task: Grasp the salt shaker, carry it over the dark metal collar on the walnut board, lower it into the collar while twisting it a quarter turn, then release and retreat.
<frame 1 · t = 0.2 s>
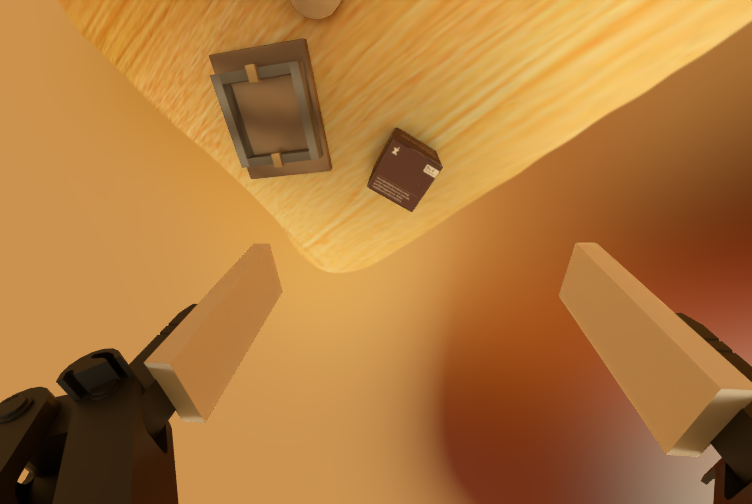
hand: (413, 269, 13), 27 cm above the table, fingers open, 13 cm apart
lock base: (277, 116, 37), on the table
box: (404, 160, 38), on the table
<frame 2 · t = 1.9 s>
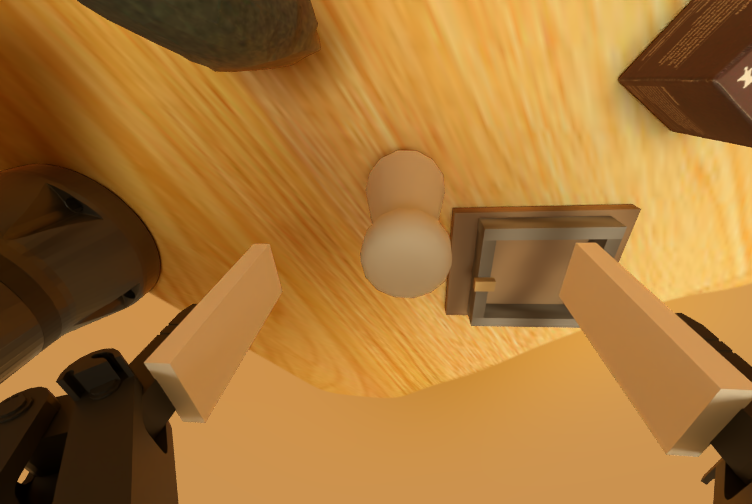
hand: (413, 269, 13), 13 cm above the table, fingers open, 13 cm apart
salt shaker: (404, 179, 24), on the table
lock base: (526, 262, 27), on the table
box: (685, 63, 19), on the table
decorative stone: (281, 19, 20), on the table
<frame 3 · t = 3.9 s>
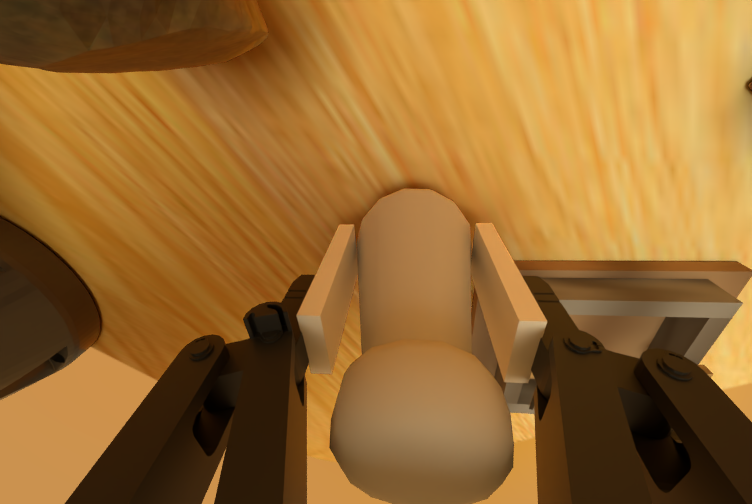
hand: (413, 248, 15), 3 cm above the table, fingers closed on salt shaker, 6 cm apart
salt shaker: (412, 222, 18), on the table, touching gripper
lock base: (575, 329, 20), on the table
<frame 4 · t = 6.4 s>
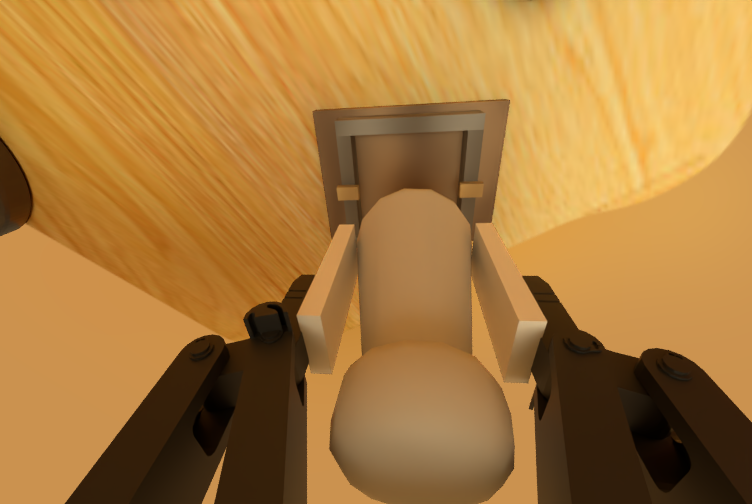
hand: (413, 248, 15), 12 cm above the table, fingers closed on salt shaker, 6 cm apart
salt shaker: (412, 222, 18), point 9 cm above the table, touching gripper
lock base: (408, 177, 25), on the table
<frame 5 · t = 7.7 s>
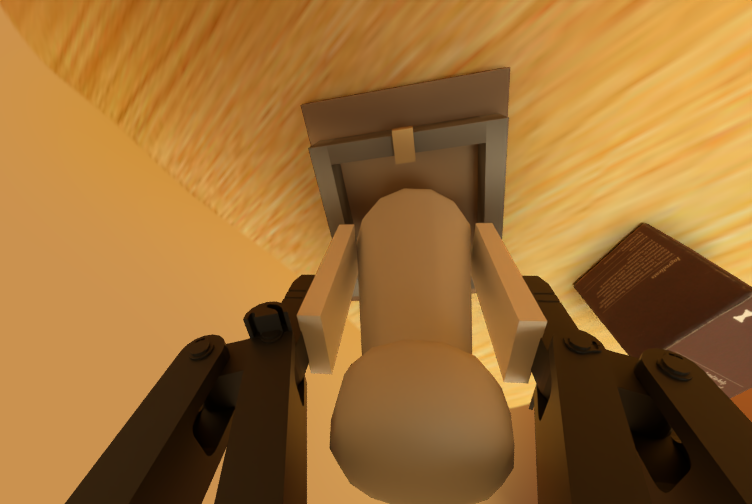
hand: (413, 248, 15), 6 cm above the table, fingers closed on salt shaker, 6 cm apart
salt shaker: (412, 222, 18), point 3 cm above the table, touching gripper
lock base: (412, 204, 20), on the table
box: (634, 271, 21), on the table
when the fingers open (5 cm above the table, at t = 8.9 s): salt shaker drops 1 cm, resting on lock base.
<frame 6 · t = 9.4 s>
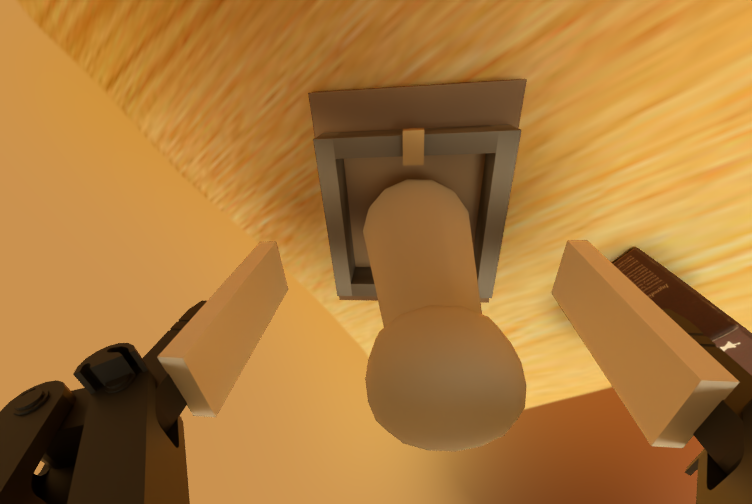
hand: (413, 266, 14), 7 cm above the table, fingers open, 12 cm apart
salt shaker: (412, 212, 19), point 1 cm above the table, touching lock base
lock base: (412, 207, 20), on the table
box: (620, 293, 22), on the table
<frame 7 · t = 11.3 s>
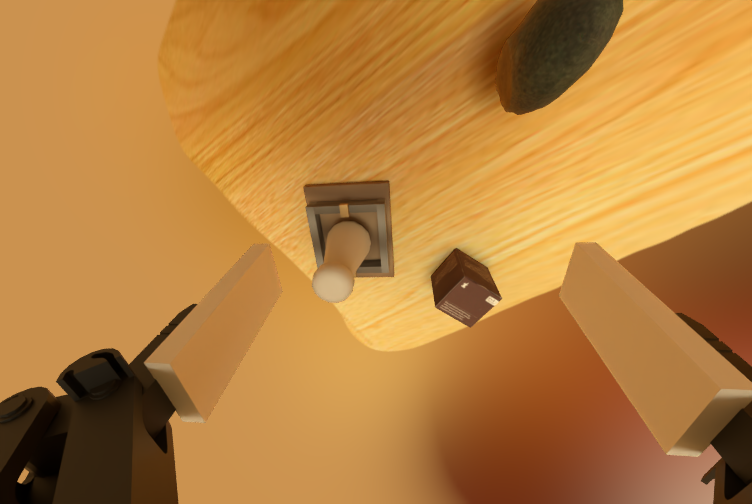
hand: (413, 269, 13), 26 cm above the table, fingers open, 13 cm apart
salt shaker: (351, 233, 41), point 1 cm above the table, touching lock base
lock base: (352, 231, 42), on the table
box: (458, 271, 44), on the table
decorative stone: (512, 59, 31), on the table
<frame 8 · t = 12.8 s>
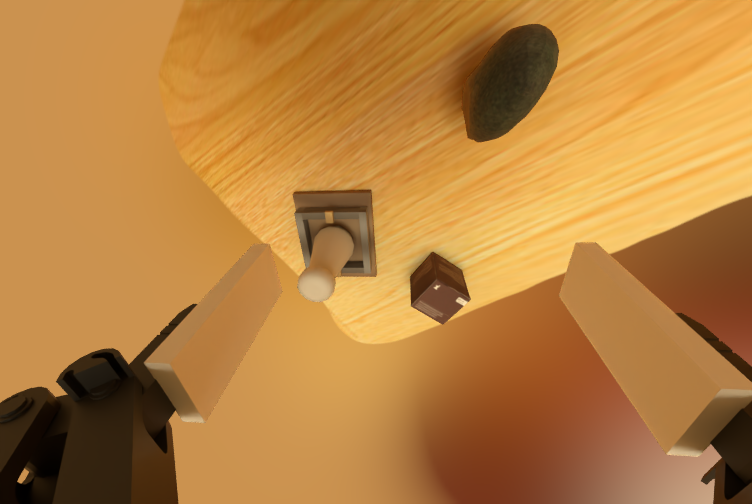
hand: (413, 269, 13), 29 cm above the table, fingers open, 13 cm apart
salt shaker: (337, 237, 45), point 1 cm above the table, touching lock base
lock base: (338, 235, 46), on the table
box: (435, 272, 48), on the table
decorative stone: (481, 85, 34), on the table
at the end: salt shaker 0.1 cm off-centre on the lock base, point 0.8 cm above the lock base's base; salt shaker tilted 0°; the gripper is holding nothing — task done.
